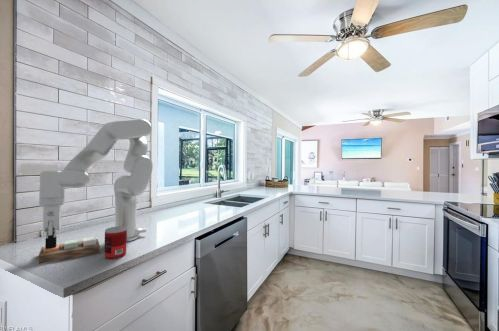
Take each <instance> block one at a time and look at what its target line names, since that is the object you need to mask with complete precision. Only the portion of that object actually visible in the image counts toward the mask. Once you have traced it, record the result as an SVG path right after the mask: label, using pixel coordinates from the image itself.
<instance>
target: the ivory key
mask: <svg viewBox="0 0 499 331" xmlns="http://www.w3.org/2000/svg"><path fill="white" fill-rule="evenodd" d="M96 239H97V237H96V236H92V237H91V236H90V237H82V241H83V246H89V245H95V244H96Z"/></svg>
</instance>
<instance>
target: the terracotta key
mask: <svg viewBox="0 0 499 331" xmlns="http://www.w3.org/2000/svg"><path fill="white" fill-rule="evenodd" d="M43 247H44V249H43V253H46V252H52V251H58V250H59V244H56V247H55V248H48V249H46V248H45V246H43Z"/></svg>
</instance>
